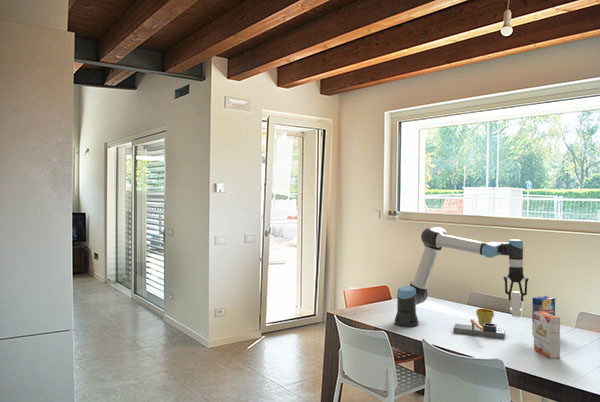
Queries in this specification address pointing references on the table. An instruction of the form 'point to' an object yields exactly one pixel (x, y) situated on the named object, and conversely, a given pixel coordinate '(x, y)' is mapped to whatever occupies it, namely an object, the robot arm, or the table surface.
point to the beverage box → (543, 306)
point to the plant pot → (484, 316)
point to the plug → (515, 304)
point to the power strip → (487, 331)
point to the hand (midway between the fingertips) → (515, 306)
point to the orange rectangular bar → (476, 324)
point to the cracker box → (547, 334)
